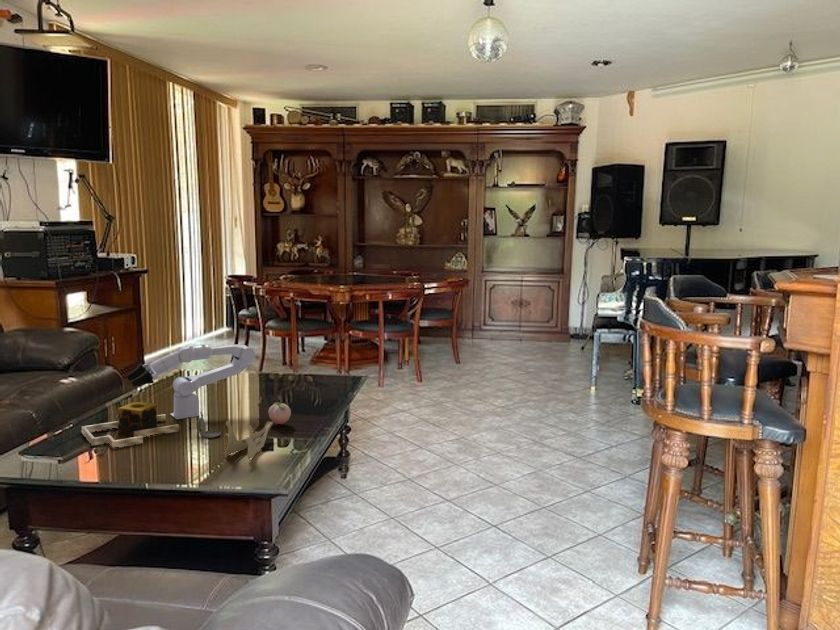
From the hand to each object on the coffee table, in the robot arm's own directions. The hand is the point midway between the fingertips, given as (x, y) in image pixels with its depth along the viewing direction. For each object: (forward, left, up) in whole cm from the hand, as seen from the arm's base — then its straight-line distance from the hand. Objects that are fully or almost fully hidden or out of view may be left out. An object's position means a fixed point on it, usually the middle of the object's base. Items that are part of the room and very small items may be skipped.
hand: (130, 381), depth 238 cm
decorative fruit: (-48, +33, -17) cm, 60 cm away
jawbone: (-28, +52, -17) cm, 61 cm away
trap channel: (+2, +12, -17) cm, 21 cm away
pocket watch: (-19, +31, -17) cm, 40 cm away
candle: (0, +12, -17) cm, 21 cm away
